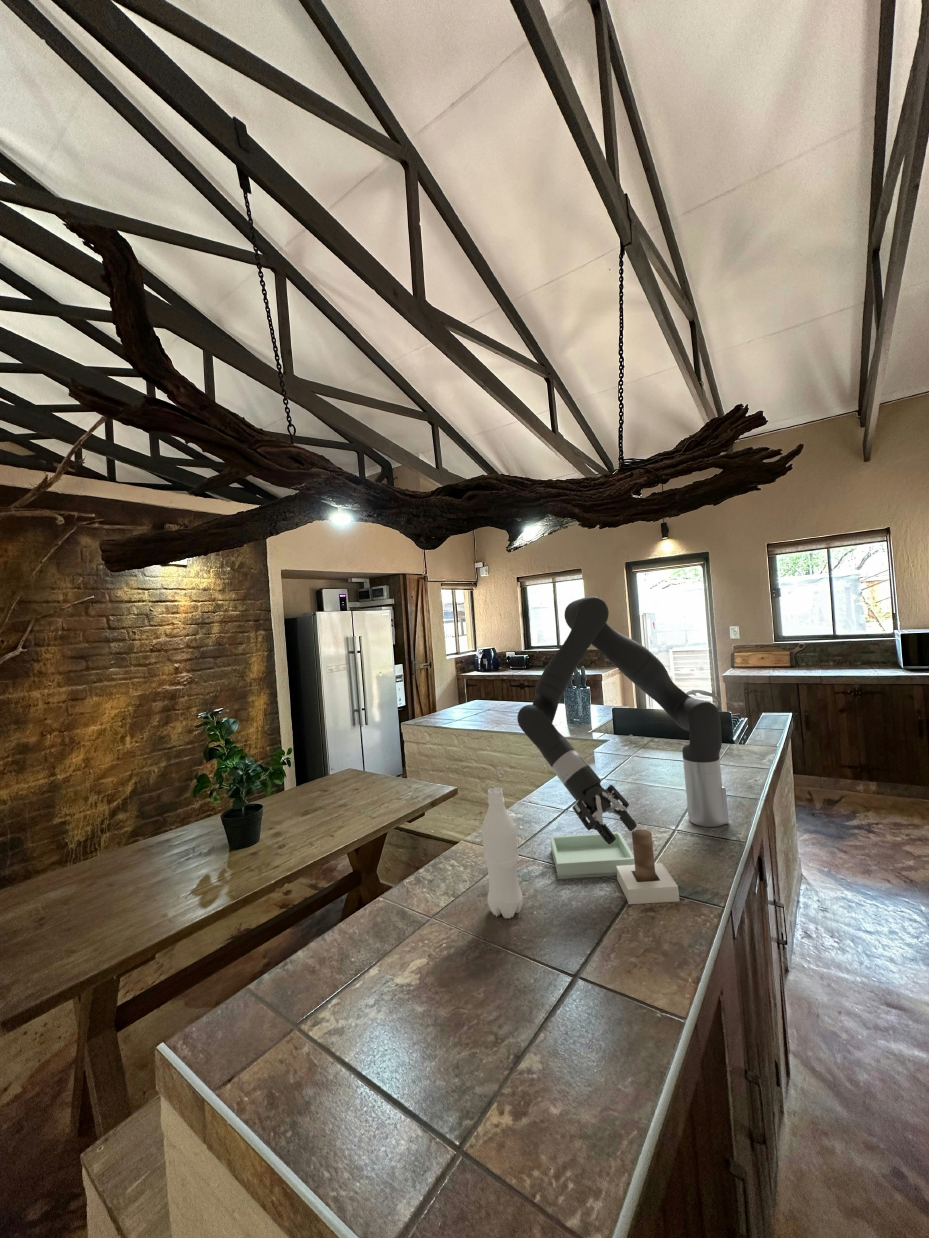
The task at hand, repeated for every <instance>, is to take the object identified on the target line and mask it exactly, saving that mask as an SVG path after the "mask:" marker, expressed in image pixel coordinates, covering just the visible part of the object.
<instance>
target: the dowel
mask: <svg viewBox="0 0 929 1238" xmlns="http://www.w3.org/2000/svg"><path fill="white" fill-rule="evenodd" d="M631 839H632V841H631V842H632V851H633V852H632V853H633V855H634V862H635V873H636V881H637V882H648V881H656V875H655V865H654V864H655V855H654V847H653V846H654V845H653V835H652V832H651V831H649V830H648V829H641V828H640V829H634V830H632V831H631Z"/></svg>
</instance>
